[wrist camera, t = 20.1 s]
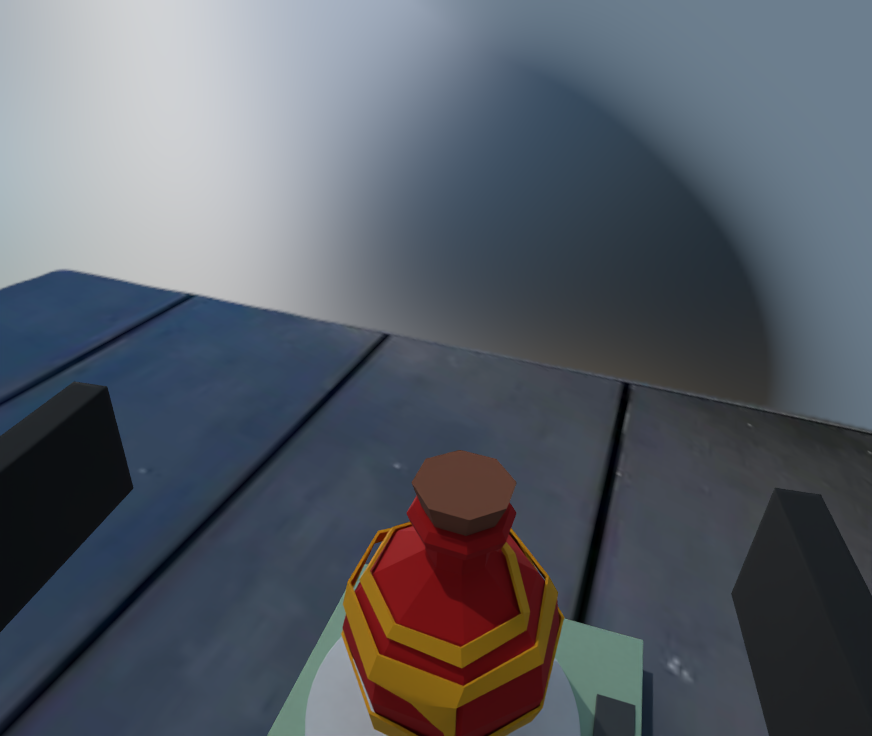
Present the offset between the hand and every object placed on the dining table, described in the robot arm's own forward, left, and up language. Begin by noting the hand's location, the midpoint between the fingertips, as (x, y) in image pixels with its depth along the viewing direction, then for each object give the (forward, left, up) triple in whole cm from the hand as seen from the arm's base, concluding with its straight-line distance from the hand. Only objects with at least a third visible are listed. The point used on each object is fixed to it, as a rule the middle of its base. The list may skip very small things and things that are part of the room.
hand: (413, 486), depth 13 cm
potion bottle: (-5, -9, -23) cm, 25 cm away
